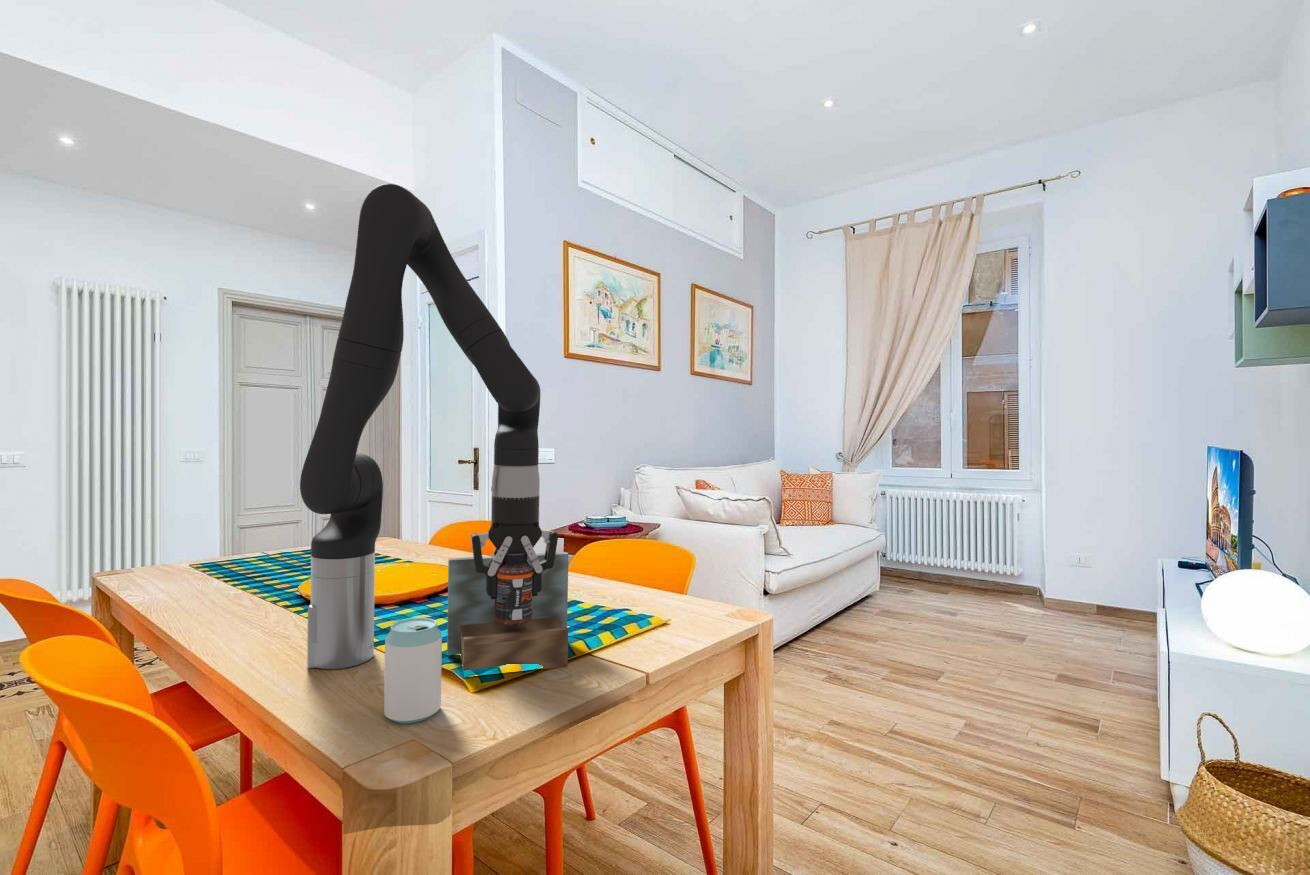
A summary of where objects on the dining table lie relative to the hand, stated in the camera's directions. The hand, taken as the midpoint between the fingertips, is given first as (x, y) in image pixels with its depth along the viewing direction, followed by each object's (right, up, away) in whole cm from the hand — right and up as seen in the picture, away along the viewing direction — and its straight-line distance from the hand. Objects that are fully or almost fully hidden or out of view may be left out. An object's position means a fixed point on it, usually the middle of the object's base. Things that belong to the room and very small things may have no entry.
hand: (514, 595), depth 101 cm
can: (-9, -11, -18) cm, 23 cm away
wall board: (-1, -11, +2) cm, 11 cm away
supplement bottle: (0, -4, 0) cm, 4 cm away
